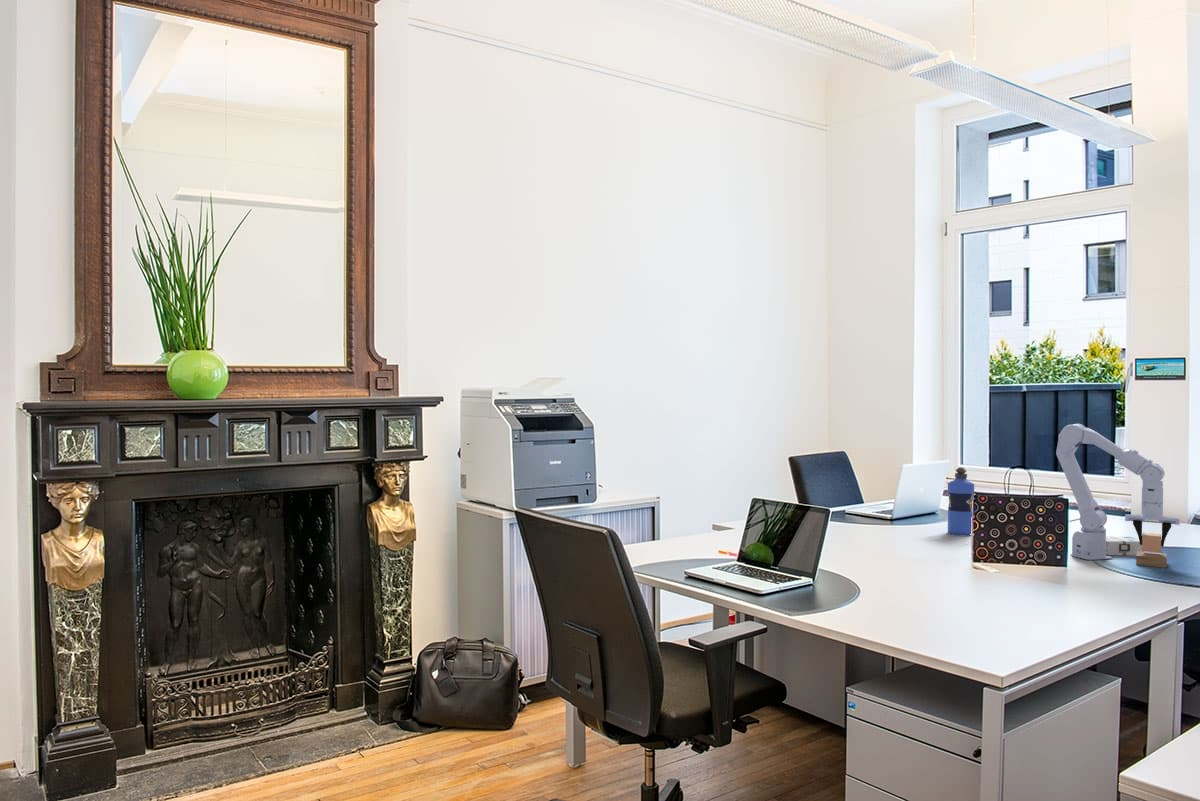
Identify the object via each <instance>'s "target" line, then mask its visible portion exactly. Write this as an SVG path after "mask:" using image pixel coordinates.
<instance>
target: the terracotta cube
mask: <svg viewBox="0 0 1200 801" xmlns="http://www.w3.org/2000/svg"><path fill="white" fill-rule="evenodd" d="M1161 538H1162V533H1150V532H1142V551H1144V552H1151V553H1162V547H1161Z"/></svg>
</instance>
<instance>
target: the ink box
mask: <svg viewBox="0 0 1200 801" xmlns="http://www.w3.org/2000/svg"><path fill="white" fill-rule="evenodd" d="M1137 551H1140V552H1145V551H1142V545H1140V541H1139V538H1135V537H1131V536H1106V556H1136V555H1137Z"/></svg>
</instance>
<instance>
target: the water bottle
mask: <svg viewBox="0 0 1200 801" xmlns="http://www.w3.org/2000/svg"><path fill="white" fill-rule="evenodd" d="M967 477H968V474H967V470H966V468H965V467H957V469H955V473H954V479H953V480H951V481H949V482H947V494H948V509H947V534H948V533H950V534H949V535H952V534H954V536H960V535H969V536H971V535H970V534H971V517H972V504H973V502H972V501H974V495H975V494H974V493H975V483H973V482H971V481H969V480H968V479H967ZM969 536H968V537H969Z"/></svg>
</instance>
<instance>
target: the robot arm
mask: <svg viewBox="0 0 1200 801" xmlns="http://www.w3.org/2000/svg"><path fill="white" fill-rule="evenodd" d="M1081 444H1085V445H1094V446H1096V447H1097V448H1099V449H1101V450H1103V451H1105V452H1106V453H1108V454H1109V455H1111V456H1113V457H1115V458H1117V463H1118V464H1119V465H1120V466H1122V467H1123V468H1125V469H1127V470H1128V471H1129V472H1131V473H1133V474H1135V475H1136V476H1140V479H1141V480H1142V487H1141V513H1140V514H1129V513H1127V514H1125V515H1124V521H1125V522H1132V525H1133V527H1134V530H1135V532H1136V534H1137V537H1138V539H1139V541H1140V545H1142V534H1143V523H1155V524H1161V548H1164V544H1165V541H1166V538H1167V535H1169V531H1170V530H1171V529H1172V525H1176V526H1179V525H1181V523H1180V522H1181V521H1180V519H1181V518H1180V517H1171V516H1165V515H1164V488H1163V486H1164V483H1163V482H1164V480H1163V479H1164V477H1165V470H1164V468H1163V467H1162V466H1161V465H1160V464H1159V463H1153V462H1154V461H1153V460H1151V459H1147V458H1145V457H1144V456H1142V455H1140V454H1139V450H1137V449H1134V450H1133V449H1130V448H1129V449H1123V448H1121V446H1119V445H1118V444H1115V443H1114V442H1112V441H1111V440H1109V439H1108V438H1106V437H1105V436H1103V435H1101V433H1099V432H1097V431H1096V430H1093V429H1092V428H1089V427H1086V426H1085V425H1084V424H1081V423H1073V424H1067V425H1065V426H1064V427H1063V428H1062V429H1061V431H1060V433H1059V434H1058V441H1057V446H1056V451H1055V453H1056V457H1057V459H1058V462H1059V464H1060V466H1061V468H1062V470H1063V473H1064V475H1065V478H1066V480H1067V482H1068V485H1069V487H1070V489H1071V492H1072V494H1073V496H1074V498H1075V500H1076V503H1077V509H1078V510H1077V511H1078V512H1079V523H1080V526H1081V527H1080V530H1079V531H1075V532H1073V534H1072V537H1071V538H1072V539H1071V540H1072V541H1071V544H1072V545H1071V553H1070V554H1069V555H1070V556H1072V557H1075V558H1078V559H1081V560H1082V559H1083V560H1087V561H1093V560H1094V561H1095V560H1096V561H1097V560H1110V559H1113V557H1112V556H1110V555H1107V554H1106V537H1107V529H1106V528H1105V525H1106V523H1107V521H1108V517H1107V513H1106V512H1105V511H1103V510H1102V509H1101V507H1100V506H1099V503H1098V502H1097V501H1096V500H1095V499H1094V496H1093V494H1092V491H1091V490H1090V487H1089V485H1088V483H1087V481H1086V478H1085V476H1084V473H1083V472H1082V469H1081V466H1080V464H1079V462H1078V460H1077V458H1076V456H1075V453H1076V452H1077V450H1078V448H1079V446H1080V445H1081Z"/></svg>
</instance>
